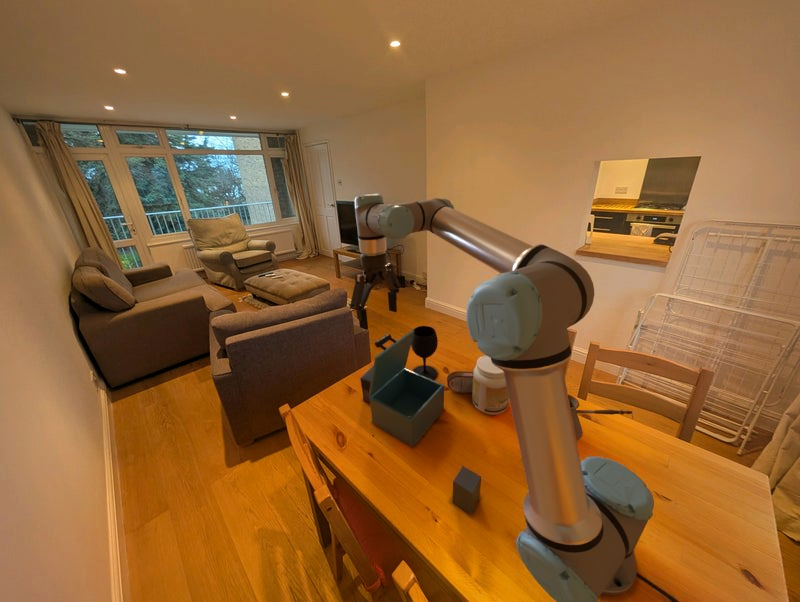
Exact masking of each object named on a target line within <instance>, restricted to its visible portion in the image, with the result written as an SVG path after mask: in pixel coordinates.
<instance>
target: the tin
mask: <svg viewBox="0 0 800 602" xmlns="http://www.w3.org/2000/svg"><path fill="white" fill-rule="evenodd" d="M473 372H474V371H467V370H466V371H463V370H456V371H452V372H451V373H449V374H448V375H447V377H446V384H447V387H448V389H449V390H450V391H452V392H454V393H465V394H472V389H473Z"/></svg>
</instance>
